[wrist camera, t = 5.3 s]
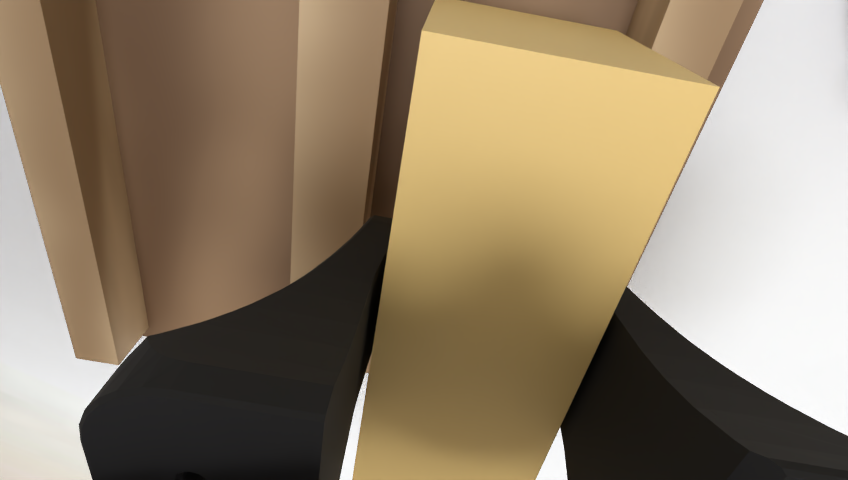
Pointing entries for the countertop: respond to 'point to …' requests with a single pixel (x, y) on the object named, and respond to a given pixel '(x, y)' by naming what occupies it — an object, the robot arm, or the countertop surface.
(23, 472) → the countertop surface
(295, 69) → the comb board
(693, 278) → the countertop surface
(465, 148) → the ochre plug block
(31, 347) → the countertop surface
